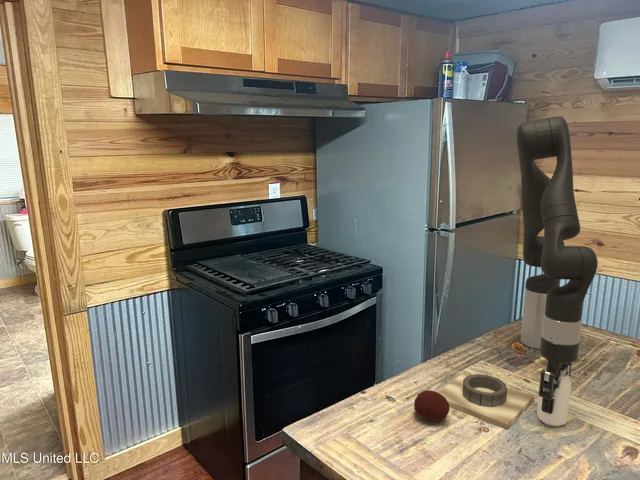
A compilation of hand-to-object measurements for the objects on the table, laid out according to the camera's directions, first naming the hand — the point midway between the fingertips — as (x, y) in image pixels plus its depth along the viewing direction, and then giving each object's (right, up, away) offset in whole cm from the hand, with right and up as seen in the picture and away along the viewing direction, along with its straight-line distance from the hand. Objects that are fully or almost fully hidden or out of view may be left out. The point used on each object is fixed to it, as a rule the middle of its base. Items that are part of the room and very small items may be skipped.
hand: (553, 404), depth 110 cm
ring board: (-12, -2, +9) cm, 16 cm away
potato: (-27, -4, +2) cm, 27 cm away
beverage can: (0, -4, +1) cm, 4 cm away
